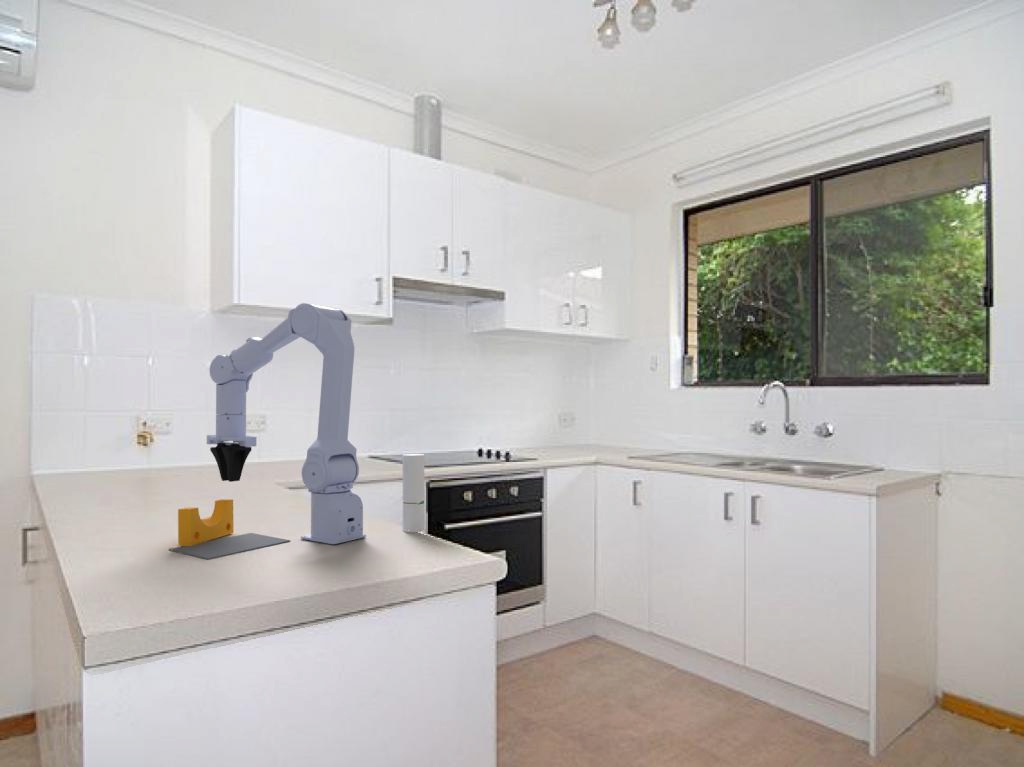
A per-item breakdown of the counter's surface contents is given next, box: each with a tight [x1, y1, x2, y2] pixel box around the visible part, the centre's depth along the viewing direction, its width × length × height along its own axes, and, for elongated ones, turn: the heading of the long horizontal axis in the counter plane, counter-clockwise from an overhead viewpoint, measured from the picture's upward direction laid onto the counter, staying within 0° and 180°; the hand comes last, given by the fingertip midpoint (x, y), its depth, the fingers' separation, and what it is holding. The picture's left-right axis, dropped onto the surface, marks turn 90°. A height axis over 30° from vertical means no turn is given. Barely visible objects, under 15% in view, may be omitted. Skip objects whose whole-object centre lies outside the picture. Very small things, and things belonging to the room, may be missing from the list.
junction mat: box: [168, 532, 291, 560], centre depth 115 cm, size 12×16×1 cm
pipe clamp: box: [177, 499, 234, 547], centre depth 121 cm, size 12×4×6 cm, turn 168°
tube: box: [402, 453, 425, 533], centre depth 129 cm, size 4×4×15 cm
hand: (230, 480), depth 133 cm, fingers closed
